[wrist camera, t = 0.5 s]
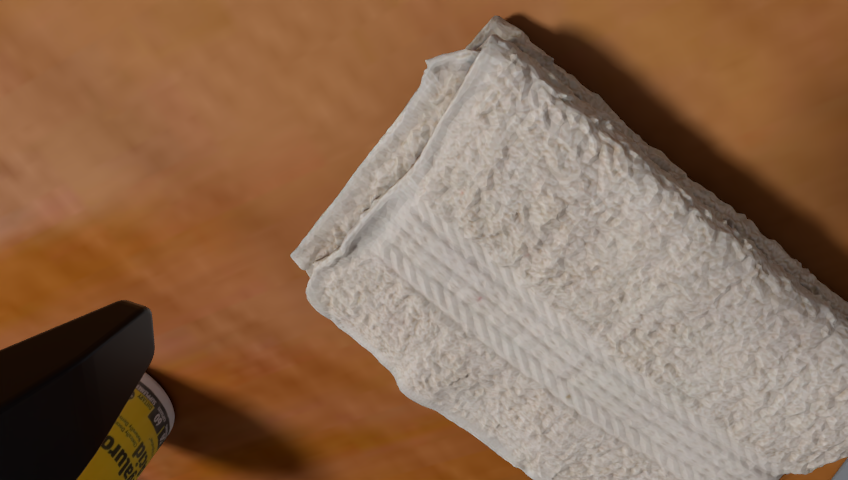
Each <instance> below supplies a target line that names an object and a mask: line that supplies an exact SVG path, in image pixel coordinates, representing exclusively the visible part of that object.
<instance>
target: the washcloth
mask: <svg viewBox="0 0 848 480" xmlns="http://www.w3.org/2000/svg"><path fill="white" fill-rule="evenodd" d="M425 61H426V63H427V69H426V70H424V75H423V77H422V80H421V85H420V87H419V88H418V90H417V91H416V92H415V94H414V95H413V96H412V98H411V99H410V101H409V103H408V104H407V105H406V107H405V108H404V110H403V111H402V112H401V114H400V115H399V116H398V118H397V119H396V121H395V122H394V123H393V125H392V126H391V127H390V128H389V129H388V130H387V132H386V134H385V135H384V136H383V137H381V139H380V141H379V142H378V144H377V145H376V146H375V147H374V148H373V150H372V151H371V152H370V153H369V154H368V156H367V158H366V159H365V160H364V161H363V163H362V164H361V165H360V166H359V167H358V169H357V170H356V172H355V173H354V174H353V175H352V177H351V178H350V180H349V181H348V182H347V184H346V186H345V187H344V188H343V189H342V191H341V192H340V194H339V195H338V196H337V198H336V199H335V200H334V202H333V203H332V204H331V205H330V206H329V207H328V208H327V210H326V211H325V212H324V213H323V214H322V215H321V217H320V218H319V220H318V221H317V222H316V223H315V225H314V227H313V228H312V229H311V230H310V231H309V233H308V235H307V236H306V237H305V238H304V239H303V240H302V242H301V243H300V245H299V246H298V247H297V248H296V249H295V251H293V252H292V253H291V255H290V256H291V258H292V259H293V260H294V261H295V262H296V264H297V265H298V266H299V267H300V268H301V269H302V270H306V272H307V274H308V276H309V277H310V280H309V282H308V285H307V288H306V294H307V299H308V301H309V302H310V304H311V305H312V306H313V308H314V309H315V310H316V311H318V312H319V313H320V314H322V315H323V316H325V317H327V318H329V319H330V320H332V321H333V322H334V323H335V324H336V325H337V327H338V328H340V329H341V330H343V331H344V332H346V333H347V334H349V335H350V336H351V337H352V338H353V339H354V340H356V341H357V342H358V343H359V344H360V345H361V346H363V347H364V348H366V349H367V350H368V351H370V352H371V353H372V354H373V355H374V356H375V357H376V358H377V359H378V361H379V362H380V363H381V364H382V365H383V366H385V367H386V368H387V369H388V370H389V371H390V372H391V373H392V375H393V376H394V377H395V380H396V382H397V385H398V387H399V389H400V391H401V392H402V393H403V394H404V395H406V396H407V397H408V398H410V399H411V400H413V401H415V402H416V403H418V404H420V405H423V406H425V407H428V408H431V409H433V410H436V411H437V412H439V413H440V414H442V415H443V416H445V417H446V418H447V419H449V420H450V421H452V422H454V423H455V424H457V425H458V426H459V427H461V428H464V429H465V430H466V431H468V432H469V433H471V434H472V435H474V436H475V437H476V438H477V439H479V440H480V441H482V442H483V443H484V444H486V445H487V446H488V447H490V448H491V449H492V450H493V451H495V452H496V453H497V454H498V455H500V456H501V457H502V458H504V459H505V460H506V461H508V462H509V463H511V464H512V465H513V466H514V467H516V468H520V469H521V470H522V471H524V472H525V474H527V475H528V476H529V477H530V478H532V479H533V480H779V479H780V478H781V477H782V475H783V474H789V473H793V474H808V473H811V472H812V471H813V470H815V469H816V468H818V467H823V465H824V464H827V463H832V462H835V461H837V460H839V459H841V458H845V457H848V302H847V301H845V300H843V299H842V298H841V297H840V296H838V295H837V294H836V293H834V292H832V291H831V290H830V289H829V288H828V287H827V286H826V285H824V284H822V283H821V282H820V281H818V280H817V278H816V277H815V276H814V275H813V274H811V273H810V271H809V269H805V268H802V264H801V263H800V262H798V260H796V259H792V258H791V257H790V256H789V255H788V254H787V253H786V252H785V251H784V249H783V248H782V246H781V245H780V244H778V243H777V242H776V241H775V240H770V239H768V238H766V237H765V236H763V235H762V234H761V233H760V232H759V230H758V228H757V227H756V226H755V224H754V222H753V221H752V220H750V219H747V218H746V215H745V214H740V213H736V212H735V210H734V209H733V207H732V206H730V205H729V204H726V203H724V202H722V201H721V200H719V199H718V198H717V197H716V196H715V194H714V193H713V192H711V191H708V190H706V189H705V188H704V187H703V186H702V185H700V184H699V183H697V182H693V181H692V180H691V179H689V178H688V177H687V174H686V173H685V172H684V171H683V170H682V169H680V168H679V167H677V166H676V165H675V164H673V163H672V162H671V161H670V160H669V159H668V158H667V157H666V156H665V154H664V153H663V152H662V151H661V150H658V149H656V148H653V147H651V146H649V145H648V144H647V143H646V142H644V141H643V140H642V139H641V137H640V136H639V135H638V134H635V133H634V132H633V131H632V130H631V129H630V128H628V127H627V126H626V124H625V123H624V121H623V120H620V118H619V116H618V115H617V114H616V113H615V112H614V111H613V110H612V109H611V108H610V107H609V105H608V104H606V103H605V102H604V101H603V99H602V98H601V97H600V96H599V95H598V94H596V93H593V92H591V91H590V90H588V89H587V88H585V87H584V86H583V85H582V84H581V83H580V82H579V81H578V80H577V79H576V78H575V77H574V76H573V75H571V74H567V73H566V71H565V70H564V69H562V68H561V67H559V66H557V65H555V64H554V63H553V62H554V59H553V58H552V57H550V56H548V55H547V54H546V53H545V52H544V51H543V50H541V49H540V48H538V47H537V46H536V45H534V44H533V43H531V42H530V40H529V37H528V36H527V35H526V34H525V33H524V32H523V31H522V30H520V29H519V28H517V27H516V26H514V25H512V24H510V23H508V22H507V21H505V20H504V19H502V18H501V17H500V16H494V17H493V18H492V19H491V20H490V21H489V22H488V23H487V24H486V26H485V27H484V28H483V29H482V30H481V31H480V32H479V33H478V35H477V36H476V37H475V38H474V40H473V41H472V42H471V43H470V44H469V45H468V46H467V47H466V49H464V50H459V51H456V52H452V53H448V54H442V55H439V56H437V57H434V58H431V59H428V60H425Z"/></svg>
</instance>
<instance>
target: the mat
mask: <svg viewBox="0 0 848 480" xmlns="http://www.w3.org/2000/svg"><path fill="white" fill-rule="evenodd" d="M831 480H848V458H847V459H846V461H845V462H844V463H843V465H842V466H841V467H840V469H839V470H838V471H837V473H836V474H835V475H834V477H833V478H832V479H831Z"/></svg>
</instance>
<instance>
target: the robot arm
mask: <svg viewBox="0 0 848 480" xmlns="http://www.w3.org/2000/svg"><path fill="white" fill-rule="evenodd" d="M154 349H155V345H154V333H153V321H152V313H151V311H150V309H149V308H147V307H146V306H143V305H140V304H137V303H134V302H131V301H127V300H121V301H117V302H115V303H112V304H110V305H107V306H105V307H103V308H100V309H98V310H95V311H93V312H91V313H88V314H86V315H83V316H81V317H79V318H76V319H74V320H71V321H69V322H67V323H64V324H62V325H60V326H57V327H55V328H52V329H50V330H48V331H45V332H43V333H40V334H38V335H36V336H33V337H31V338H28V339H26V340H24V341H21V342H19V343H16V344H14V345H12V346H9V347H7V348H4V349H2V350H0V480H77V479H78V477H79V476H80V475H81V473H82V472H83V471H84V469H85V468H86V467H87V465H88V464H89V462H90V461H91V460H92V458H93V457H94V455H95V454H96V453H97V451H98V450H99V448H100V446H101V445H102V443H103V442H104V440H105V439H106V437H107V435H108V434H109V432H110V430H111V429H112V427H113V425H114V424H115V422H116V420H117V418H118V417H119V415H120V413H121V412H122V410H123V408H124V407H125V405H126V403H127V402H128V400H129V398H130V397H131V395H132V393H133V392H134V390H135V388H136V387H137V385H138V383H139V382H140V380H141V378H142V377H143V375H144V373H145V372H146V370H147V368H148V367H149V365H150V363H151V361H152V358H153V355H154Z"/></svg>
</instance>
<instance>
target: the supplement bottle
mask: <svg viewBox="0 0 848 480" xmlns="http://www.w3.org/2000/svg"><path fill="white" fill-rule="evenodd" d="M174 419H175V414H174V409H173V406H172V403H171V401H170V399H169V397H168V396H167V394H166V393H165V391H164V390H163V389H162V387H161V386H160V385H159V384H158V383H157V382H156V381H155V380H154V379H153V378H152V377H151V376H149V375H148V374H147V373H146V372H145V373H144V375H143V377H142V378H141V380H140V382H139V383H138V385H137V387H136V388H135V390H134V392H133V393H132V395H131V397H130V398H129V400H128V402H127V403H126V405H125V407H124V408H123V410H122V412H121V413H120V415H119V417H118V418H117V420H116V422H115V424H114V425H113V427H112V429H111V430H110V432H109V434H108V435H107V437H106V439H105V440H104V442H103V443H102V445H101V446H100V448H99V450H98V451H97V453H96V454H95V455H94V457H93V458H92V460H91V461H90V462H89V464H88V465H87V467H86V468H85V469H84V471H83V472H82V473H81V475H80V476H79V477H78V479H77V480H137V478H138V477H139V476H140V474H141V473H142V471H143V470H144V468H145V467H146V466H147V464H148V463H149V462H150V460H151V459H152V457H153V456H154V455H155V453H156V452H157V451H158V449H159V448H160V446H161V445H162V444H163V442H164V441H165V439H166V438H167V436H168V435H169V433H170V431H171V430H172V427H173V424H174Z"/></svg>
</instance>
